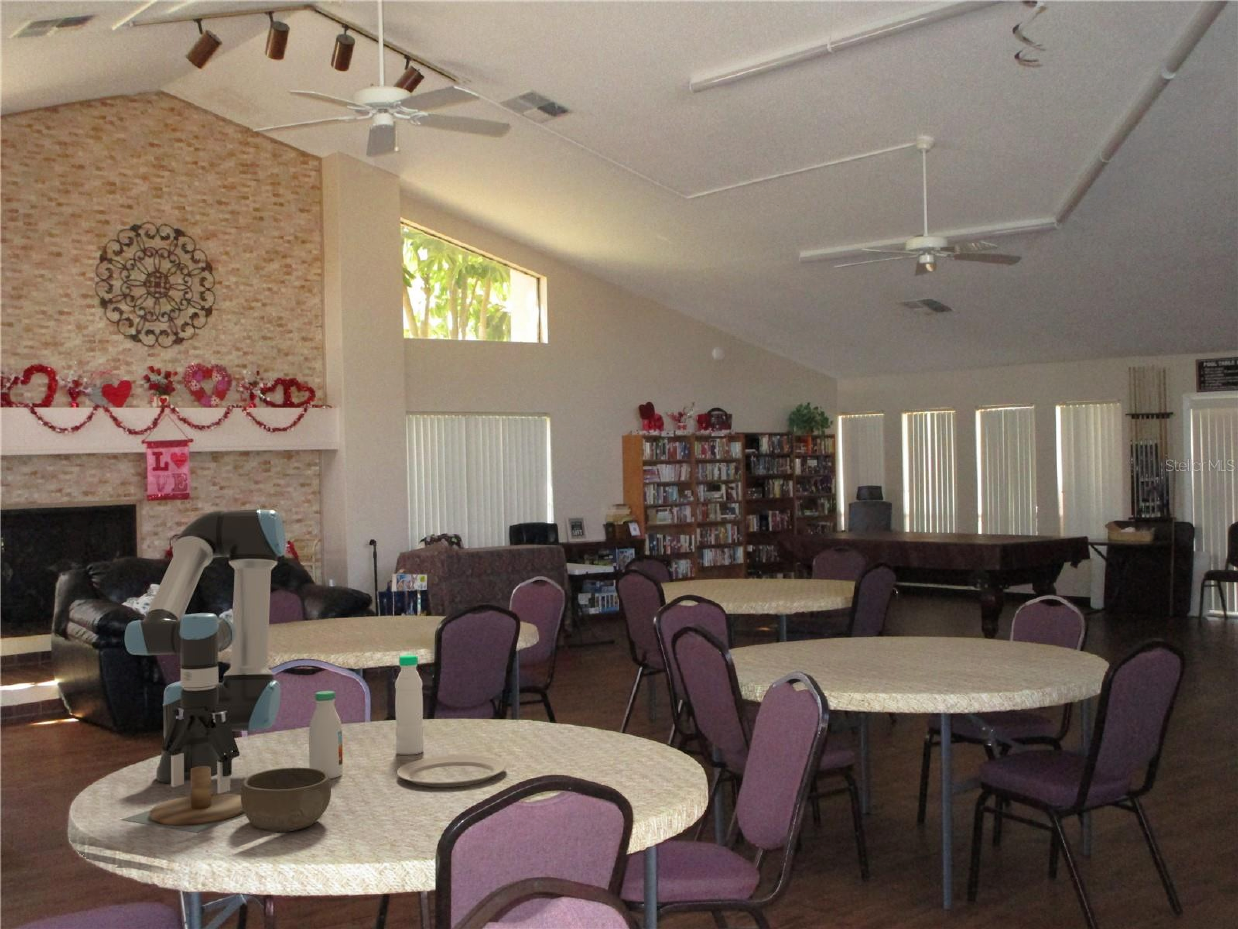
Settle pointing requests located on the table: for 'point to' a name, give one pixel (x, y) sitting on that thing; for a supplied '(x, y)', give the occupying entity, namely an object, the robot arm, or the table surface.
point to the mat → (145, 819)
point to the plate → (454, 760)
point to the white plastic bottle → (409, 708)
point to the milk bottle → (326, 736)
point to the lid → (198, 804)
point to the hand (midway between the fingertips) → (200, 788)
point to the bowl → (285, 798)
